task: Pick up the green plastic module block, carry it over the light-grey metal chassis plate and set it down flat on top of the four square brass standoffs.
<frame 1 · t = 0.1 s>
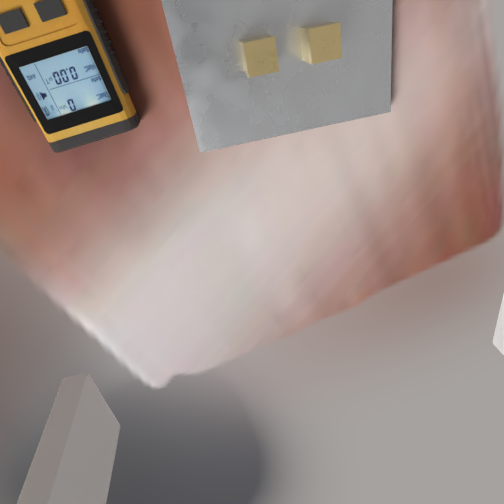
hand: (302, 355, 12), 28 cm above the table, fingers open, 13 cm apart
electronic device: (57, 37, 31), on the table
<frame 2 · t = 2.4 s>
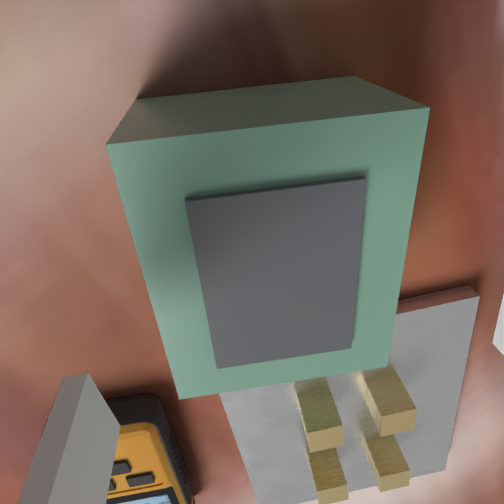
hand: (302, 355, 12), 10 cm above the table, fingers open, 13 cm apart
electronic device: (132, 451, 32), on the table
chassis: (344, 411, 32), on the table
module: (256, 205, 21), on the table
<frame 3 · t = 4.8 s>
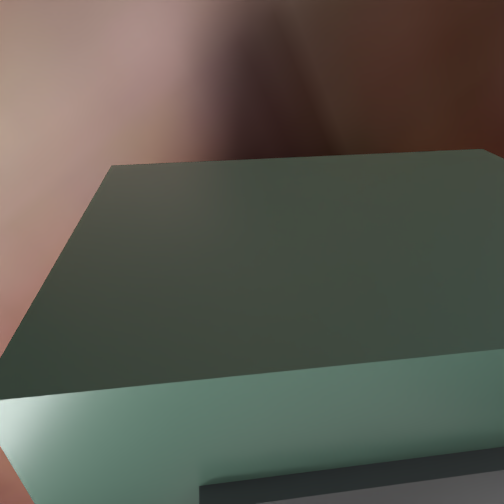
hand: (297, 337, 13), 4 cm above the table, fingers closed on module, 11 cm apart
module: (294, 326, 13), point 4 cm above the table, touching gripper
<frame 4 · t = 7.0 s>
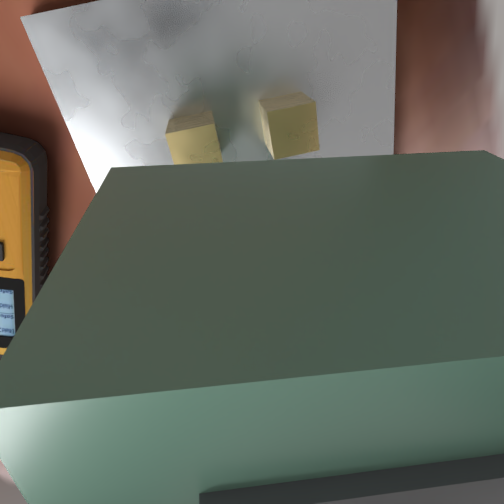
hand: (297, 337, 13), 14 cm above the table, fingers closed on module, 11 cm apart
chassis: (249, 185, 25), on the table
module: (295, 328, 13), point 14 cm above the table, touching gripper
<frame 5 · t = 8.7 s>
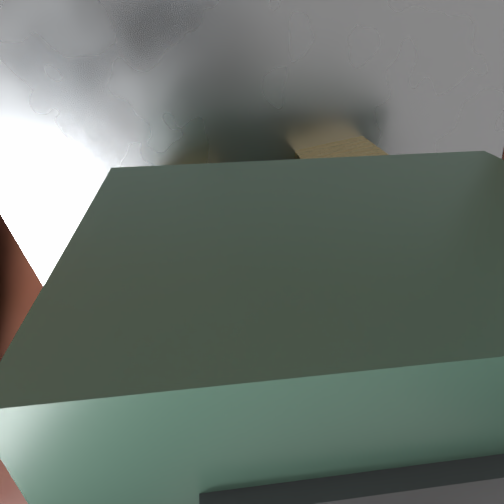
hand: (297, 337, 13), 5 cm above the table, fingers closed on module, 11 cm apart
chassis: (273, 262, 17), on the table
module: (294, 329, 13), point 4 cm above the table, touching gripper
when the fingers open (5 cm above the table, at t = 9.6 s): module stays where it is, resting on chassis.
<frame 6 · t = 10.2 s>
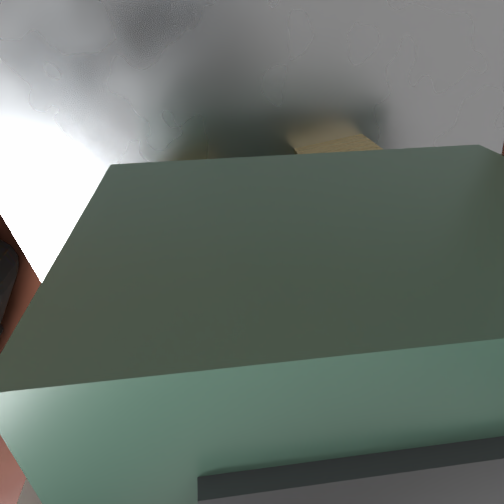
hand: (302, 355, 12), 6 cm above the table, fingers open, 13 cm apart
chassis: (273, 260, 17), on the table
module: (293, 323, 13), point 4 cm above the table, touching chassis
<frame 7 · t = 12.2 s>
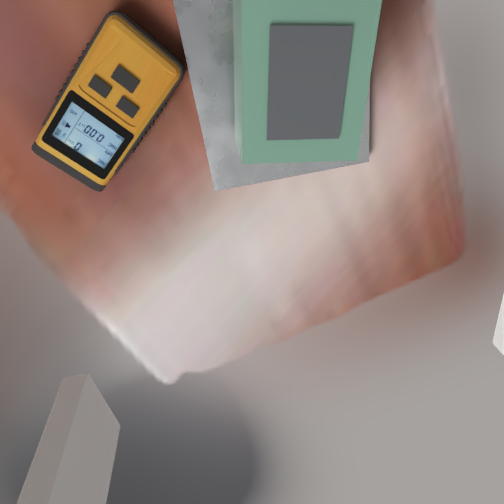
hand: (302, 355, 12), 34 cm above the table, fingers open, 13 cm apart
electronic device: (111, 104, 39), on the table
chassis: (279, 70, 39), on the table
module: (288, 74, 35), point 4 cm above the table, touching chassis
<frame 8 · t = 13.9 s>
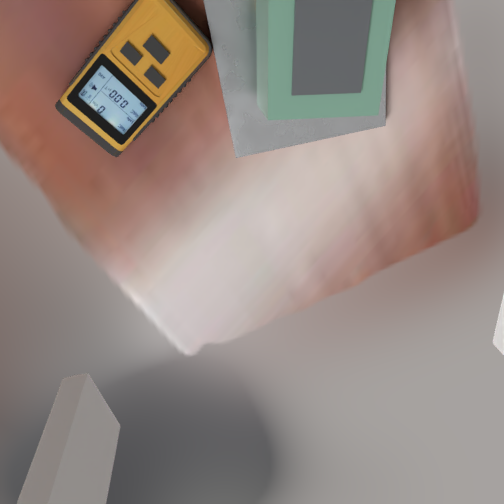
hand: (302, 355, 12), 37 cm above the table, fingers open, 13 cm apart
electronic device: (137, 73, 41), on the table
chassis: (298, 35, 40), on the table
module: (308, 36, 37), point 4 cm above the table, touching chassis
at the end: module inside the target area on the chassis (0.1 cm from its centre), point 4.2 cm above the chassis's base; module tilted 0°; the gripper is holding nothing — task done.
